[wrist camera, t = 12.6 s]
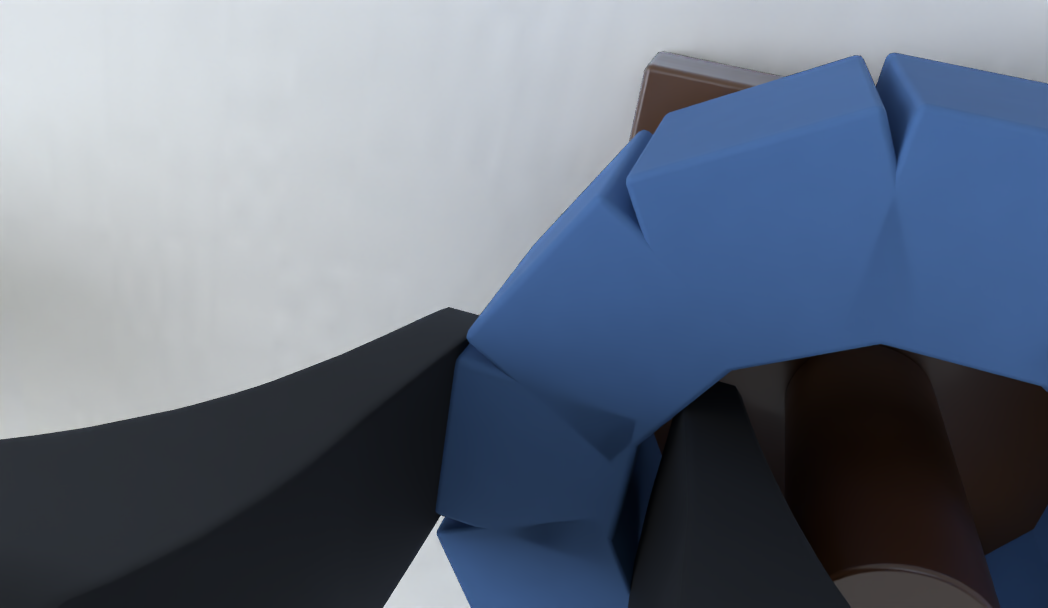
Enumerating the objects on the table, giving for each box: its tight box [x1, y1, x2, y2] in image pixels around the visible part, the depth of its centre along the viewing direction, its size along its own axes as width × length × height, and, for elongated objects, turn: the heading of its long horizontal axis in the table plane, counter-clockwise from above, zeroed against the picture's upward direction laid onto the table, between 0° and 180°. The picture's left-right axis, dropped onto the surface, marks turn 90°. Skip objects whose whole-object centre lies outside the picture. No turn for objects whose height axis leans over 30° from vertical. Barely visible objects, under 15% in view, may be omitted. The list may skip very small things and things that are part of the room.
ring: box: [435, 53, 1048, 608], centre depth 10 cm, size 10×10×3 cm
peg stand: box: [629, 52, 1048, 608], centre depth 11 cm, size 8×8×6 cm
